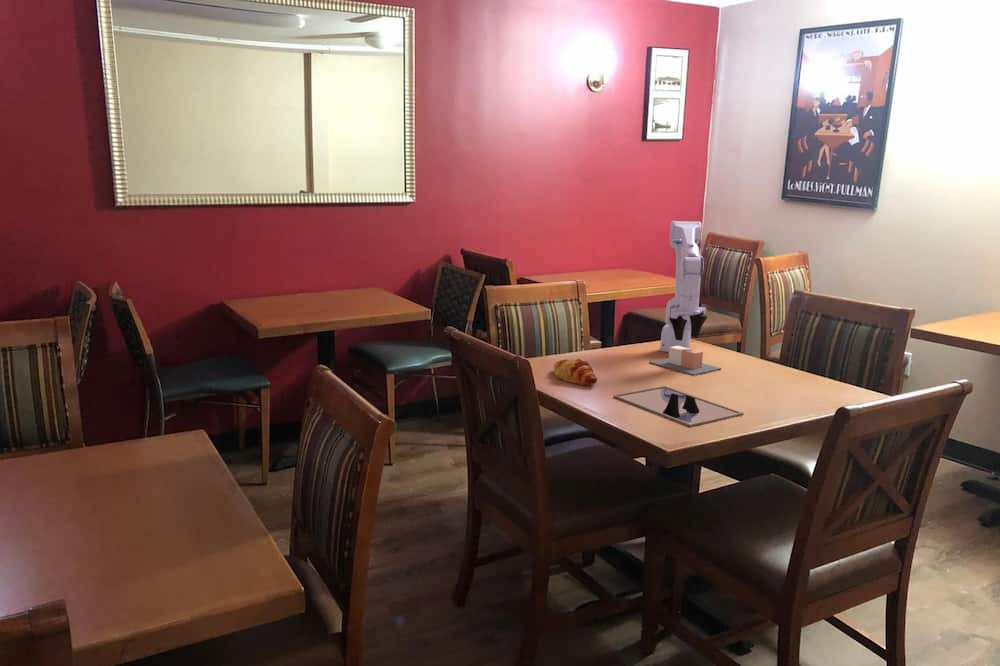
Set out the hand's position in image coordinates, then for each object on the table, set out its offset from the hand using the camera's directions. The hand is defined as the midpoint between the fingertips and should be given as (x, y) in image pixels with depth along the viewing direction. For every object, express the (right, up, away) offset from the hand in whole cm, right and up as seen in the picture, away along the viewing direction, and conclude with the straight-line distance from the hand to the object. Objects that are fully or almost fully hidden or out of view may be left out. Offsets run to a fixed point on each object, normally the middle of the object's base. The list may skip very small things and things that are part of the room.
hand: (686, 338), depth 243 cm
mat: (0, -9, +2) cm, 9 cm away
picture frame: (-12, -18, -39) cm, 44 cm away
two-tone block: (0, -8, +2) cm, 9 cm away
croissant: (-36, -12, -15) cm, 41 cm away
